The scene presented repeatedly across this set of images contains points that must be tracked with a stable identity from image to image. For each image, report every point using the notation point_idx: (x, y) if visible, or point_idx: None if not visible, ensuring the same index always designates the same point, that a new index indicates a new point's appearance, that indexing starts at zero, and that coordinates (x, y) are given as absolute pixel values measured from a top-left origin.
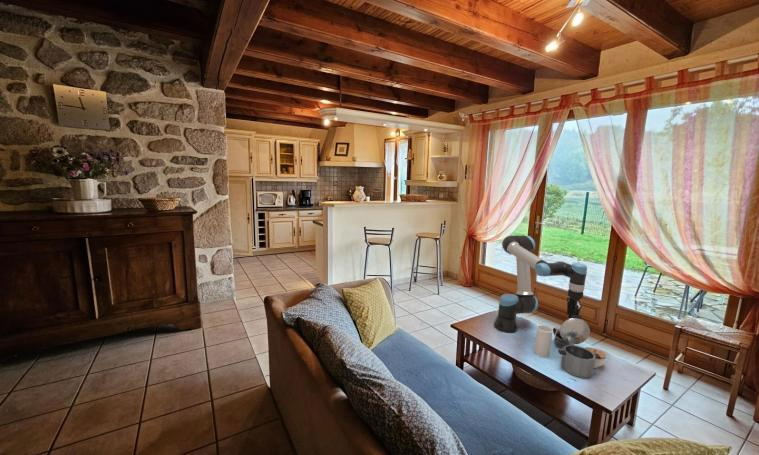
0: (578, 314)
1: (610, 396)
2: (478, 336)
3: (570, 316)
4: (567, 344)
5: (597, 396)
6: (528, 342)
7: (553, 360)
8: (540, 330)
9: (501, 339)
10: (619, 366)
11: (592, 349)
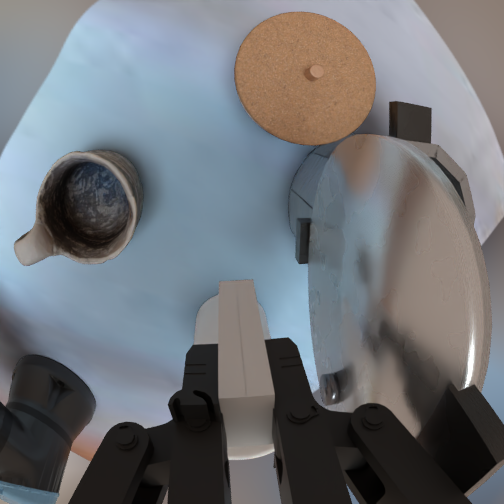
0: (461, 497)
1: (487, 160)
2: None
3: (278, 475)
4: (138, 185)
5: (487, 207)
6: (137, 348)
7: (287, 286)
8: (268, 450)
9: (162, 422)
10: None
11: (271, 69)
